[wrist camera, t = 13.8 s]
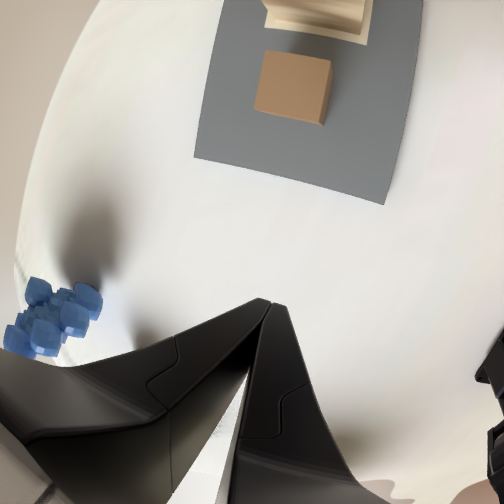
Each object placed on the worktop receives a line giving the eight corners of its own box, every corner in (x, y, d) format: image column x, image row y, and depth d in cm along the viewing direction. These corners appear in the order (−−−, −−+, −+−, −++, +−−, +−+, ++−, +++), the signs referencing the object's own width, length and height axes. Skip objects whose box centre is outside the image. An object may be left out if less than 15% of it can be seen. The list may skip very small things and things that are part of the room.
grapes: (111, 237, 25) (1, 300, 14) (141, 306, 27) (52, 390, 16) (48, 262, 29) (-34, 312, 18) (73, 316, 31) (1, 374, 20)
